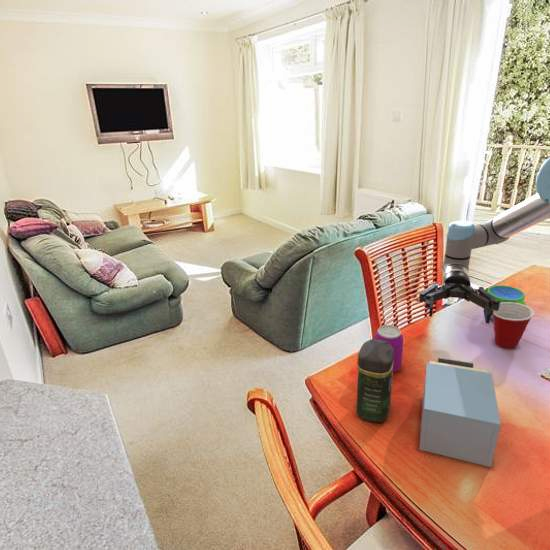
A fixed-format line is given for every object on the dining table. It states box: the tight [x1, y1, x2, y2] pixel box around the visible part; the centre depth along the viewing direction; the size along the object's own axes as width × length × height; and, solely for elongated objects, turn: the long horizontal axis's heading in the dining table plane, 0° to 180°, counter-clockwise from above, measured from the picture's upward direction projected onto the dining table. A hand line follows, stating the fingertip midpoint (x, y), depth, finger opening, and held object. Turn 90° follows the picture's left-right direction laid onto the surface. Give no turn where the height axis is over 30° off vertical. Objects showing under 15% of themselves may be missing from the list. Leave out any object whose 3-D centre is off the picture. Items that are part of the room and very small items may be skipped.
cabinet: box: [419, 362, 502, 468], centre depth 83 cm, size 16×14×12 cm
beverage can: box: [374, 324, 404, 373], centre depth 106 cm, size 8×8×12 cm
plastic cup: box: [493, 302, 535, 350], centre depth 111 cm, size 11×11×12 cm
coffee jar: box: [355, 338, 394, 423], centre depth 90 cm, size 10×8×19 cm
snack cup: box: [484, 284, 527, 322], centre depth 124 cm, size 16×10×10 cm
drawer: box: [428, 357, 488, 373], centre depth 88 cm, size 20×13×10 cm, turn 158°
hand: (458, 315), depth 98 cm, fingers open, 13 cm apart
